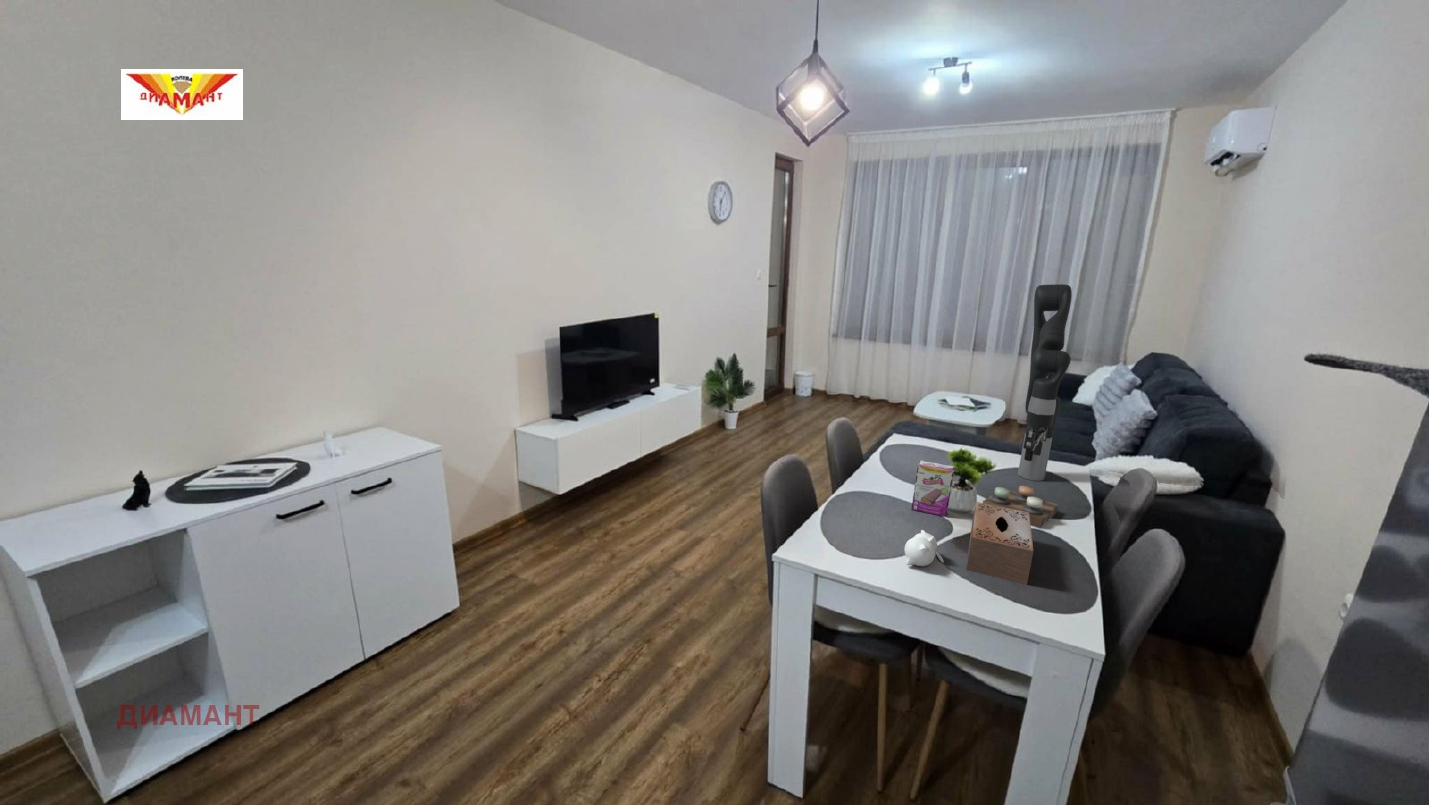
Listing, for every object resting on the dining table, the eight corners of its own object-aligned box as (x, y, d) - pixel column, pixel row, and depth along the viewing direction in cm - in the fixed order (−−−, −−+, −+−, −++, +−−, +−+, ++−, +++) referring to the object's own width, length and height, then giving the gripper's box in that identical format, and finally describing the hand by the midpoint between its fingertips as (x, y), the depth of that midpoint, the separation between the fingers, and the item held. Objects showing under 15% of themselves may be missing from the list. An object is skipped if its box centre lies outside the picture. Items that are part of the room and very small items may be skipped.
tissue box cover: (1026, 585, 145) (1033, 551, 142) (966, 570, 151) (971, 537, 149) (1023, 543, 167) (1029, 512, 165) (970, 531, 174) (975, 501, 171)
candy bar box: (910, 510, 186) (917, 464, 182) (912, 505, 190) (918, 459, 186) (947, 518, 181) (954, 470, 177) (947, 512, 186) (954, 465, 182)
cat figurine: (925, 520, 158) (915, 535, 148) (956, 548, 155) (947, 566, 145) (905, 539, 162) (893, 555, 152) (934, 567, 159) (925, 585, 149)
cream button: (1028, 501, 184) (1030, 495, 183) (1043, 505, 181) (1044, 499, 180) (1024, 504, 181) (1025, 499, 180) (1039, 509, 178) (1040, 503, 177)
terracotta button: (1020, 489, 193) (1022, 484, 192) (1034, 494, 190) (1035, 488, 189) (1016, 493, 190) (1017, 487, 189) (1030, 497, 187) (1031, 491, 186)
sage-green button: (997, 491, 191) (998, 486, 190) (1010, 495, 188) (1011, 490, 187) (992, 494, 188) (993, 489, 187) (1006, 499, 185) (1007, 493, 184)
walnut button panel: (1000, 495, 200) (1002, 485, 199) (1056, 512, 188) (1058, 502, 187) (981, 509, 189) (983, 498, 188) (1040, 528, 176) (1042, 516, 175)
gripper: (1036, 405, 190) (1027, 450, 194) (1021, 412, 180) (1012, 459, 184) (1060, 409, 185) (1051, 456, 189) (1046, 417, 175) (1037, 465, 179)
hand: (1032, 457), depth 187 cm, fingers open, 8 cm apart
